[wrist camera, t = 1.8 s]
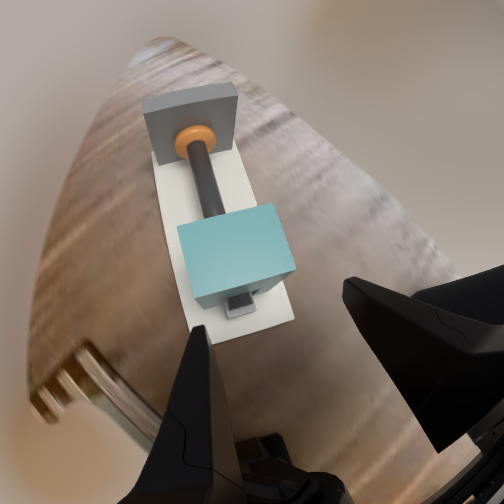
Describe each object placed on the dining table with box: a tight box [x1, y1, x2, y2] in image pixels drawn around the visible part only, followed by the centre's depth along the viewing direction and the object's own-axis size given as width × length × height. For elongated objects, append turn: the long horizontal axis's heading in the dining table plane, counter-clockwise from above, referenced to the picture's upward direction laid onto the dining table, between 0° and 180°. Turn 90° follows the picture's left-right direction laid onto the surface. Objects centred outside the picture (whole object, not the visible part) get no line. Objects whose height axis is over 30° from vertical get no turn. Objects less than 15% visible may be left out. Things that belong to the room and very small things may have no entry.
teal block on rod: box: [177, 203, 296, 310], centre depth 17 cm, size 4×5×8 cm
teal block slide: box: [142, 82, 295, 344], centre depth 19 cm, size 18×8×8 cm, turn 17°
